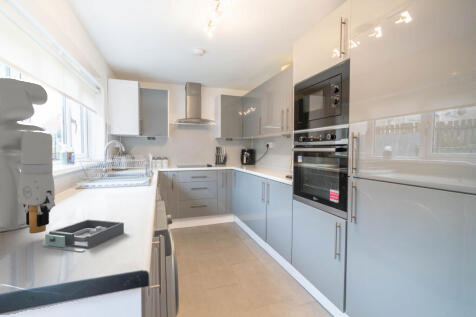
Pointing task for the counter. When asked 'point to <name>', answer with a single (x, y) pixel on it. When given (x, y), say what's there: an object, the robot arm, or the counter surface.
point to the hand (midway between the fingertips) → (37, 224)
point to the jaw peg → (34, 220)
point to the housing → (87, 234)
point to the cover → (55, 240)
